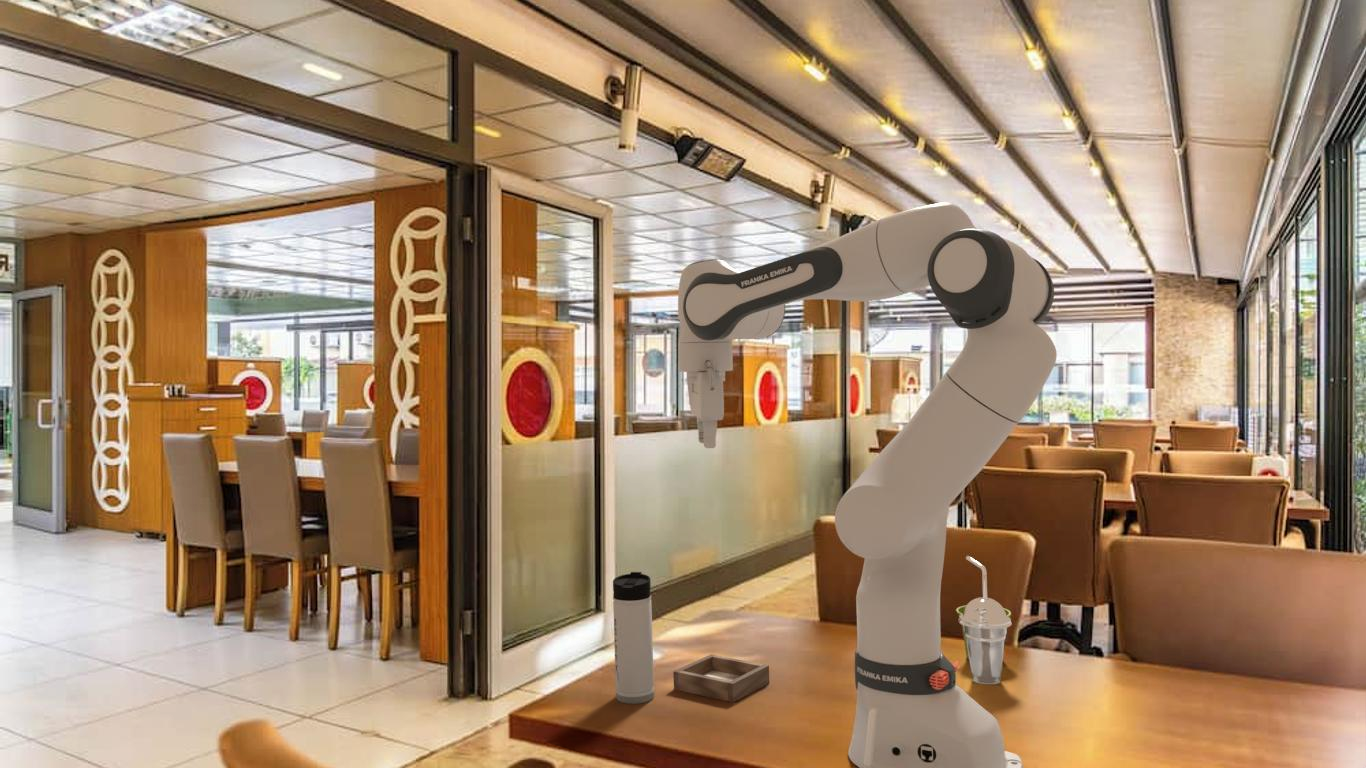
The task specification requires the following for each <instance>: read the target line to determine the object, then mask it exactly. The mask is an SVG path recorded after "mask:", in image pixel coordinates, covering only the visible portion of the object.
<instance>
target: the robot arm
mask: <svg viewBox="0 0 1366 768" xmlns="http://www.w3.org/2000/svg"><path fill="white" fill-rule="evenodd" d="M1053 282H1054V281H1053V280H1052V277H1051V275H1050V273H1049V272H1048V270H1047V269H1046V268H1045V266H1044V265H1043V264H1042V262H1040V261H1039V260H1037V259H1036V258H1033V257H1032V256H1031V255H1030V254H1029V253H1028V252H1027V251H1026V250H1025V249H1024V248H1023V247H1021V246H1020V245H1019V244H1017V243H1015V242H1013V241H1011V240H1009V239H1007V238H1005V237H1002V236H1000V235H999V234H997V233H995V232H993V231H990V230H987V229H986V230H985V229H982V228H975V226H974V223H973V221H972V219H971V218H970V217H969V215H968V214H967V213H966V212H965V211H964V210H963V208H961V207H960V206H958V205H957V204H954V203H952V202H938V203H933V204H927V205H922V206H917V207H913V208H911V209H907V210H902V211H899V212H896V213H894V214H891V215H888V216H886V217H883V218H880V219H878V220H875V221H873V222H870V223H868V224H866V225H863V226H862V227H861V226H860V227H859V228H856V229H854V230H852V231H850V232H848V233H845V234H842V235H840V236H839V237H837V238H834V239H831V240H829V241H826V242H825V243H821V244H819V245H817V246H814V247H812V248H810V249H808V250H805V251H802V252H799V253H796V254H793V255H790V256H787V257H784V258H781V259H778V260H775V261H772V262H769V263H764V264H763V265H760V266H757V267H754V268H751V269H748V270H744V271H742V272H741V271H739V270H736V269H735V268H734V267H731V266H730V264H729V263H728V262H726V261H725V260H722V259H706V260H698V261H695V262H692V263H690V264H688V265H686V266H685V267H684V268H683V270H682V272H681V274H680V279H679V284H678V285H679V286H678V293H677V294H678V296H677V315H678V316H677V317H678V320H679V324H680V333H679V337H678V371H679V372H680V373H681V372H684V373H686V383H687V384H686V385H687V392H688V403H689V409H690V411H691V414H692V415H694V416H695V417H696V425H697V432H698V439H697V440H698V442H699V443H700V444H703V446H704V448H706V449H714V448H716V444H717V441H716V440H717V437H716V436H717V430H718V421H723V419H724V415H725V399H724V382H726V372H731V371H733V370H734V368H733V367H734V363H733V357H734V355H733V350H734V349H733V345H734V344H733V340H759V339H764V338H768V337H772V335H774V334H775V333H776V332H777V331H778V330H779V329H780V328H781V326H782V324H783V322H784V318H785V315H786V305H788V304H790V303H791V304H792V303H795V302H800V301H806V300H807V301H810V300H830V301H831V300H832V301H833V300H834V301H845V302H846V301H848V302H858V303H860V302H863V303H864V302H873V301H880V300H887V299H892V298H895V297H896V298H897V297H899V296H902V295H906V294H909V293H911V292H915V291H917V290H920V289H923V288H926V287H930V288H931V289H932V292H933V294H934V295H935V296H936V298H937V300H938V301H939V302H940V304H941V305H942V306H943V307H944V309H945V310H946V311H947V313H948V315H949V316H950V317H951V319H952V321H953V322H954V323H955V325H956V326H957V327H958V328H961V329H966V330H967V338H966V341H965V345H964V346H963V348H962V350H961V352H960V353H959V354H958V356H956V358H955V359H954V361H953V362H952V364H951V365H950V366H949V367H948V369H947V370H946V371H945V373H944V374H943V376H942V377H941V378H940V380H939V381H938V382H937V383H936V385H935V386H934V388H933V389H932V390H931V391H930V393H929V395H928V396H927V397H926V398H925V400H924V401H923V402H922V404H921V405H920V407H919V408H918V409H917V410H916V412H915V413H914V414H913V416H912V417H911V418H910V420H909V421H908V422H907V423H906V425H904V426H903V427H902V428H901V430H900V431H898V432H897V434H896V435H895V436H894V437H893V438H892V439H891V440H890V441H889V442H888V444H887V445H886V446H885V447H884V448H883V449H882V450H881V451H880V452H879V453H878V455H876V456H875V458H874V459H873V460H872V462H870V464H869V465H868V467H866V468H865V469H864V471H863V472H861V474H860V475H859V477H857V479H856V480H855V482H853V484H852V485H851V486H850V487H849V488H848V490H846V491H845V493H844V494H843V496H842V497H841V498H840V500H839V502H838V504H837V506H836V509H835V513H834V525H835V530H836V533H837V535H838V537H839V539H840V542H842V544H843V545H844V546H845V548H846V549H848V550H849V551H850V552H851V553H852V554H854V555H855V556H858V557H860V558H863V559H864V560H863V561H864V562H863V567H862V572H861V577H860V582H859V585H858V586H857V590H856V597H855V600H856V601H855V602H856V604H855V605H856V632H857V634H856V636H857V637H856V639H857V648H856V650H855V651H854V683H855V689H856V691H857V693H856V694H857V695H856V709H855V718H854V724H853V725H854V726H853V730H852V736H851V741H850V744H849V748H848V751H847V753H848V758H849V760H850V761H851V762H852V763H853V764H854V765H855V766H857V767H858V768H1024V766H1023V762H1022V759H1021V757H1020V756H1019V755H1018V754H1016V753H1014V752H1010V751H1007V750H1005V744H1004V738H1003V734H1002V730H1001V728H1000V727H1001V726H1000V725H999V722H998V720H997V719H996V717H995V716H994V715H992V714H991V713H990V712H989V711H988V710H986V709H985V708H984V707H983V706H982V705H980V704H979V703H978V702H977V701H976V700H975V699H974V698H972V697H971V696H970V695H969V694H968V693H967V692H965V690H963V689H962V687H960V686H958V685H957V683H956V682H957V680H956V679H957V678H956V675H957V674H956V672H958V671H959V670H960V666H959V665H960V660H956V661H954V663H951V661H950V660H948V659H947V658H946V656H945V654H944V653H943V652H942V643H941V641H942V638H941V635H942V634H941V586H942V578H943V570H944V562H945V554H946V553H945V552H946V543H947V541H946V540H947V525H948V515H949V511H950V505H951V504H952V503H953V502H954V501H955V500H956V498H957V497H958V496H959V495H960V494H961V493H962V491H964V489H965V488H966V487H967V486H968V485H969V484H970V483H971V482H972V481H973V479H975V478H976V476H978V474H979V473H980V472H981V471H982V470H983V469H984V467H985V466H986V465H987V464H988V463H989V462H990V460H991V459H992V458H993V456H994V455H995V454H996V452H997V451H998V450H999V449H1000V447H1001V446H1002V445H1003V444H1004V442H1005V441H1006V439H1007V438H1008V437H1009V436H1010V434H1011V433H1012V432H1013V431H1014V430H1015V428H1016V427H1017V426H1018V424H1019V423H1020V422H1021V421H1022V419H1023V418H1024V416H1025V415H1026V414H1027V412H1028V411H1029V409H1030V408H1031V406H1032V405H1033V403H1034V402H1035V401H1036V399H1037V398H1038V396H1039V395H1040V393H1041V391H1042V389H1043V388H1044V386H1045V384H1046V383H1047V380H1048V379H1049V377H1050V375H1051V373H1052V371H1053V369H1054V367H1055V364H1056V361H1057V349H1056V346H1055V344H1054V342H1053V339H1052V338H1051V336H1050V335H1049V334H1048V333H1047V332H1046V331H1045V330H1044V329H1043V328H1042V327H1041V326H1040V325H1038V324H1039V323H1040V322H1042V321H1043V320H1044V319H1045V318H1046V317H1047V315H1048V314H1049V312H1050V310H1051V308H1052V306H1053V303H1054V298H1055V287H1054V283H1053Z"/></svg>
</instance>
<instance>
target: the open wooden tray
mask: <svg viewBox="0 0 1366 768" xmlns="http://www.w3.org/2000/svg"><path fill="white" fill-rule="evenodd" d="M672 673H673V690H676V691H681V692H685V693H689V694H694V695H697V696H703V697H707V698H708V697H709V698H712V699H717V700H719V701H720V700H721V701H724V702H725V701H726V702H728V703H729V702H730V703H735V702H737V701H738V700H739V701H740V700H741V699H742V698H744V697H746V696H748V695H750V694H752V693H754V692H756V691H758V690H760V689H761V688H763V687H765V686H766V685H769V684H770V665H769V664H763V663H758V662H754V661H747V660H744V659H743V660H742V659H738V658H732V657H727V656H722V655H716V654H708V655H707V656H704V657H702V658H699V659H697V660H695V661H693V662H691V663H688V664H687V665H684V666H681V667H679V668H678V669H675V670H673V671H672Z"/></svg>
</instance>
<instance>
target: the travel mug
mask: <svg viewBox="0 0 1366 768" xmlns="http://www.w3.org/2000/svg"><path fill="white" fill-rule="evenodd" d="M651 588H652V587H651V577H650V576H649V575H647V574H644V573H643V574H642V571H631V572H630V573H626V574H621V575H619V576H617V577H614V579H613V581H612V592H613V596H612V600H613V602H612V603H613V604H612V606H613V607H612V608H613V609H612V610H613V635H614V637H613V640H614V641H613V642H614V643H613V644H614V669H615V670H614V672H615V698H616V700H617V701H619V702H620V703H623V704H627V705H636V704H637V705H639V704H643V703H647V702H649V701H652V700H653V698H654V697H655V680H654V679H655V678H654V653H653V652H654V648H653V647H654V645H653V643H654V640H653V614H652V613H653V611H652V592H651V590H652V589H651Z"/></svg>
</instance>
